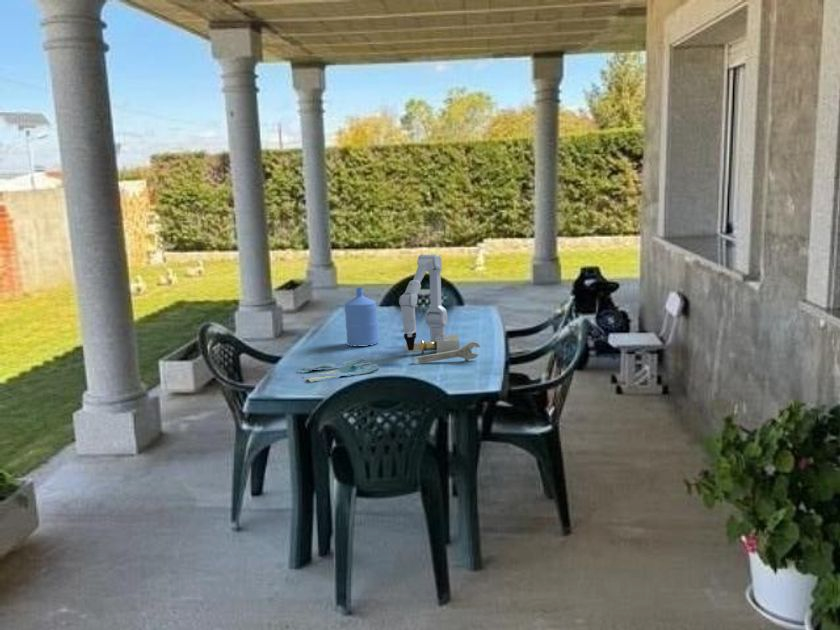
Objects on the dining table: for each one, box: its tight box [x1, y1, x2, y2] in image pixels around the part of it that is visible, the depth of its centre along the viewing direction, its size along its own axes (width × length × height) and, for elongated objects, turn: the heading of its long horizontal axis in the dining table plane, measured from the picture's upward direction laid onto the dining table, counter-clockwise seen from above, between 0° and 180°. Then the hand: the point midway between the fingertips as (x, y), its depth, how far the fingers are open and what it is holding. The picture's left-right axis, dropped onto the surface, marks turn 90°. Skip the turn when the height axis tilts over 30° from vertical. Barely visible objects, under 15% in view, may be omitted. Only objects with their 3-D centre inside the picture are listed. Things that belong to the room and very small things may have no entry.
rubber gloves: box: [298, 356, 380, 382], centre depth 327 cm, size 27×33×6 cm
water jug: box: [344, 287, 380, 346], centre depth 377 cm, size 16×16×28 cm
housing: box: [436, 333, 460, 354], centre depth 349 cm, size 14×10×7 cm
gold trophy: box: [405, 339, 437, 355], centre depth 349 cm, size 6×14×6 cm, turn 90°
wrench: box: [411, 341, 481, 365], centre depth 332 cm, size 8×2×30 cm
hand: (410, 349), depth 349 cm, fingers closed on gold trophy, 2 cm apart
